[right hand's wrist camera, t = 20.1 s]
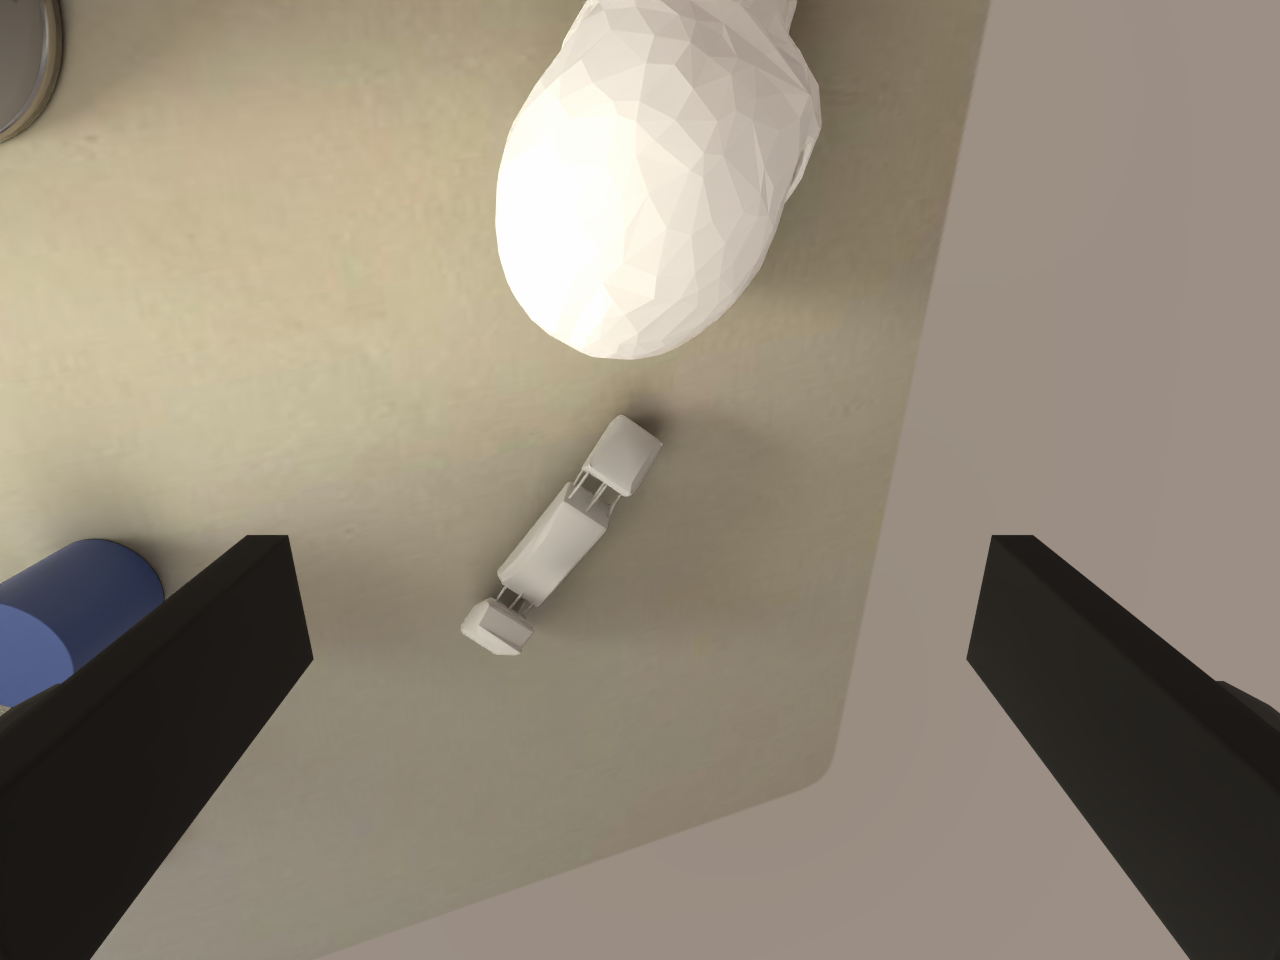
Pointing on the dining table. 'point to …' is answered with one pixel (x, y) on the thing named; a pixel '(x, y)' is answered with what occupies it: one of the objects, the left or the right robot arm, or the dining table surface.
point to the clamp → (562, 536)
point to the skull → (653, 169)
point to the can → (69, 613)
